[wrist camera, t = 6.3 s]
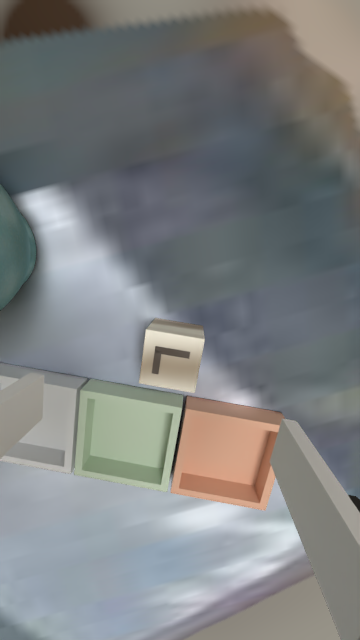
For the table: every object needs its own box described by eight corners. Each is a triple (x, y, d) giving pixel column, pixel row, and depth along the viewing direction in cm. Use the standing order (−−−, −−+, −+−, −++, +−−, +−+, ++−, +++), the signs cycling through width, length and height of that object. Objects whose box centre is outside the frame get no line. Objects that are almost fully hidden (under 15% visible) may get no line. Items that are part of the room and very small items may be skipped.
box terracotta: (186, 395, 25) (186, 408, 23) (281, 412, 25) (290, 427, 23) (172, 473, 28) (170, 492, 25) (258, 489, 27) (265, 510, 25)
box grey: (-3, 362, 26) (-23, 371, 24) (87, 378, 26) (76, 389, 23) (-2, 441, 28) (-21, 456, 26) (81, 456, 28) (70, 474, 25)
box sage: (91, 378, 26) (80, 389, 23) (183, 395, 25) (182, 408, 23) (84, 457, 28) (74, 474, 25) (169, 472, 28) (167, 492, 25)
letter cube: (155, 317, 24) (145, 329, 19) (203, 325, 24) (206, 339, 19) (149, 361, 25) (138, 383, 20) (195, 369, 25) (195, 393, 20)
